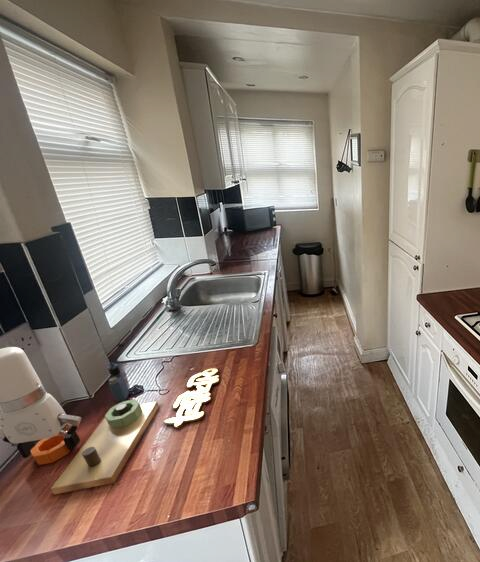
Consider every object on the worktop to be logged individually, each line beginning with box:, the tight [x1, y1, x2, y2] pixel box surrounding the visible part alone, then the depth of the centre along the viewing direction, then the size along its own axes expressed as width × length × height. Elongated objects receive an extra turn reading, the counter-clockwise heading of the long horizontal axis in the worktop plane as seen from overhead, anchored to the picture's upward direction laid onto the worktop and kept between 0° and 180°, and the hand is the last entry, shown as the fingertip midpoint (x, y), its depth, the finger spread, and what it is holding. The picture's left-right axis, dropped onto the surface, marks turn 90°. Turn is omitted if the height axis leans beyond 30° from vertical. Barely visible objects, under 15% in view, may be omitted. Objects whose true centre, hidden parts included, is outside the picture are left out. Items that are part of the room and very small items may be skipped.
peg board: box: [50, 401, 160, 496], centre depth 79 cm, size 12×24×6 cm, turn 12°
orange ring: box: [30, 430, 72, 466], centre depth 78 cm, size 7×7×3 cm
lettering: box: [164, 367, 220, 429], centre depth 96 cm, size 25×10×1 cm, turn 10°
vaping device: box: [107, 362, 130, 404], centre depth 94 cm, size 3×5×12 cm, turn 21°
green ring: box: [104, 399, 142, 429], centre depth 86 cm, size 7×7×3 cm
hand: (53, 449), depth 79 cm, fingers open, 9 cm apart
